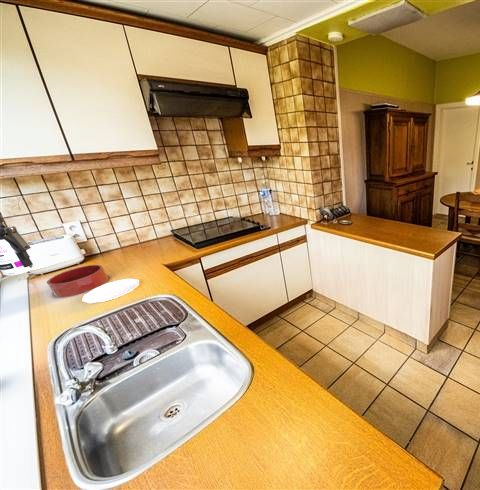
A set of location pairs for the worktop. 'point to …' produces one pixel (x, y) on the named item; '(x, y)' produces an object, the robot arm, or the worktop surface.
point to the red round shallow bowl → (77, 280)
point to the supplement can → (10, 260)
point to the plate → (110, 291)
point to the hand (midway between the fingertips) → (16, 266)
